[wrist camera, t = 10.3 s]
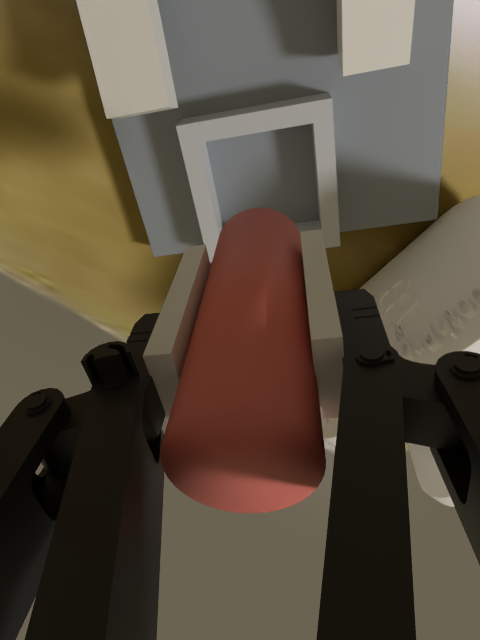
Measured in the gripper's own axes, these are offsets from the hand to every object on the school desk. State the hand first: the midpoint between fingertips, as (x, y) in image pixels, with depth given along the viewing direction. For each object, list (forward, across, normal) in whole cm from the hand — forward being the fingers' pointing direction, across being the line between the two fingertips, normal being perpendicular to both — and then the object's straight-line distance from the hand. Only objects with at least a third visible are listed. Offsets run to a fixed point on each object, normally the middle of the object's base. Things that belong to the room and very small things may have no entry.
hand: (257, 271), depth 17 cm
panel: (+13, +1, +6) cm, 14 cm away
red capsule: (+2, 0, 0) cm, 2 cm away
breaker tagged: (+9, -5, +10) cm, 15 cm away
